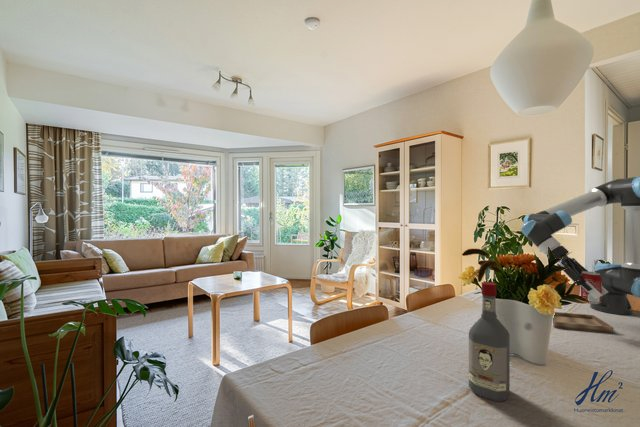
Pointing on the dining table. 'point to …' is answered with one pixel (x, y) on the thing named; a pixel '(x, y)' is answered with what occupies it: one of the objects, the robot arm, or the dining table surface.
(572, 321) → the walnut tray
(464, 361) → the dining table surface
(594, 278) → the soda can
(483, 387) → the liquor
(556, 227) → the robot arm
